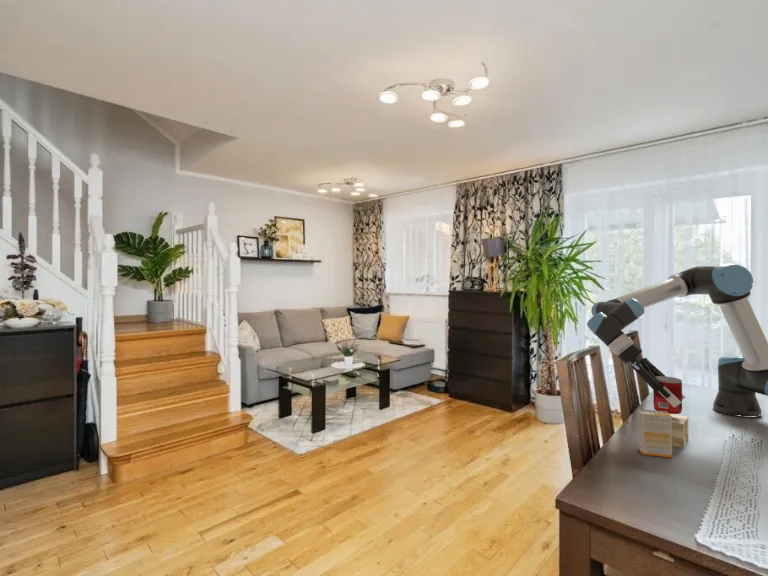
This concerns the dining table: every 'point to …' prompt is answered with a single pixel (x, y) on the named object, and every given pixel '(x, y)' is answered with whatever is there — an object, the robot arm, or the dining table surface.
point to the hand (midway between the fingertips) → (679, 402)
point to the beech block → (679, 430)
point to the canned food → (675, 388)
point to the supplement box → (655, 433)
